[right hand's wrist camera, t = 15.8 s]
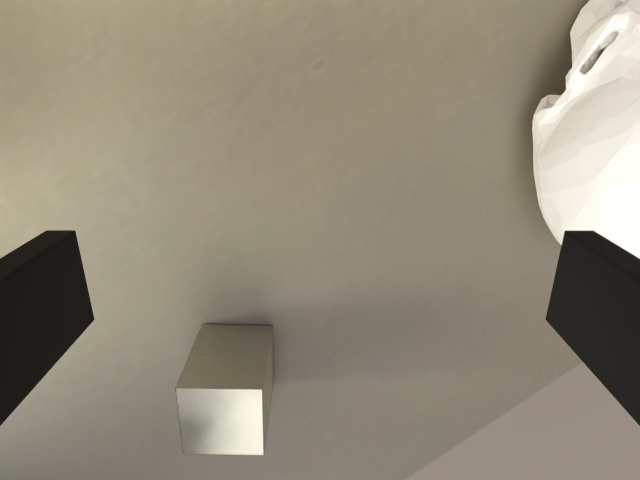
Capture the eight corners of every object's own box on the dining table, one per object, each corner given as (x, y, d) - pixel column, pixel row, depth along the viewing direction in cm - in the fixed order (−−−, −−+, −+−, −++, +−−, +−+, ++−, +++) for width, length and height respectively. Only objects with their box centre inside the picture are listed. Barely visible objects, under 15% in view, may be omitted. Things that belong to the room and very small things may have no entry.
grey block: (272, 325, 41) (262, 389, 33) (273, 382, 43) (264, 455, 35) (202, 323, 41) (174, 387, 33) (206, 381, 43) (182, 454, 35)
